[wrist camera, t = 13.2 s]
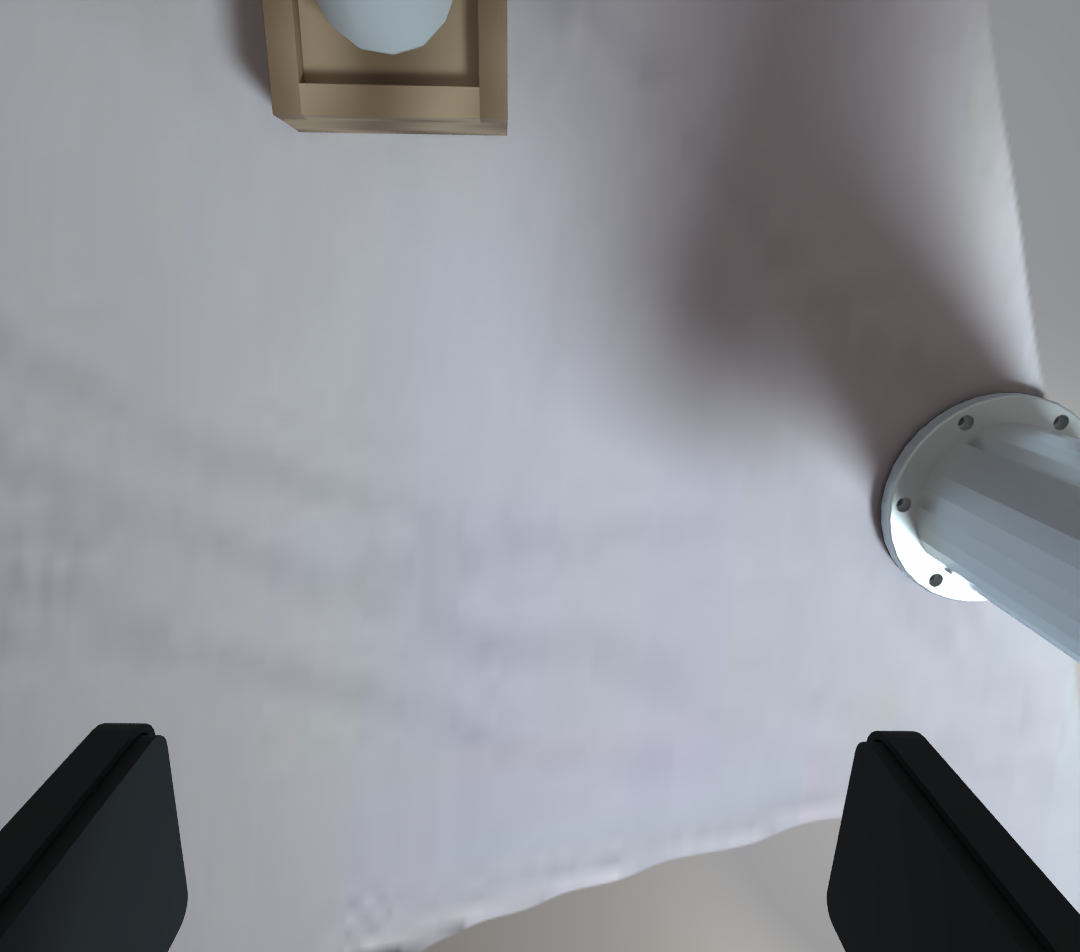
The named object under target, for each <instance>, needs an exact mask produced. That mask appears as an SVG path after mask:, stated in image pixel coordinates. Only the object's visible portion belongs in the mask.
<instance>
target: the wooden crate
mask: <svg viewBox="0 0 1080 952" xmlns="http://www.w3.org/2000/svg"><path fill="white" fill-rule="evenodd" d="M262 5H263V15H264V26H265V36H266V47H267V57H268V68H269V78H270V89H271V99H272V110H273V115H275V116H276V117H278V118H279V119H281V120H282V121H284V122H285V123H287V124H288V125H290V126H291V127H293V128H294V129H296V130H297V131H299V132H337V133H394V134H451V135H507V120H508V107H507V0H453V1H452V4H451V7H450V10H449V13H448V16H447V19H446V22H445V23H444V24H443V25H442V26H441V27H440V28H439V30H438V31H437V32H436V33H435V34H434V35H433V36H432V37H431V38H430V40H429V41H428V42H427V43H426V44H425V45H424V46H422V47H419V48H416V49H412V50H409V51H405V52H402V53H399V54H395V55H391V54H385V53H380V52H374V51H368V50H362V49H360V48H359V47H357V46H356V45H355V44H354V43H352V42H351V41H350V40H349V39H347V38H346V37H345V36H343V35H342V34H341V33H340V32H338V31H337V30H336V29H335V28H333V27H332V26H331V25H330V23H329V22H328V20H327V18H326V17H325V15H324V13H323V11H322V10H321V8H320V6H319V5H318V3H317V1H316V0H262Z"/></svg>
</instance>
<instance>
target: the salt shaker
mask: <svg viewBox="0 0 1080 952" xmlns="http://www.w3.org/2000/svg"><path fill="white" fill-rule="evenodd" d="M316 1H317V3H318V5H319V6H320V8H321V10H322V11H323V13H324V15H325V17H326V18H327V20H328V22H329V23H330V25H331V26H332V27H333V28H335V29H336V30H337V31H338V32H340V33H341V34H342V35H343V36H345V37H346V38H347V39H349V40H350V41H351V42H352V43H354V44H355V45H356V46H357V47H359V48H360V49H362V50H368V51H374V52H380V53H385V54H391V55H395V54H399V53H402V52H405V51H409V50H412V49H416V48H419V47H422V46H424V45H425V44H426V43H427V42H428V41H429V40H430V38H431V37H432V36H433V35H434V34H435V33H436V32H437V31H438V30H439V28H440V27H441V26H442V25H443V24H444V23H445V22H446V19H447V16H448V13H449V10H450V7H451V4H452V1H453V0H316Z"/></svg>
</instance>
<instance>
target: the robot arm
mask: <svg viewBox="0 0 1080 952" xmlns="http://www.w3.org/2000/svg"><path fill="white" fill-rule="evenodd" d="M881 526H882V531H883V536H884V541H885V544H886V546H887V548H888V551H889V553H890V555H891V557H892V559H893V560H894V561H895V563H896V564H897V565H898V567H899V568H900V569H901V571H902V572H904V573H905V574H906V575H907V576H908V577H910V578H911V579H912V580H913V581H914V582H915V583H917V584H918V585H920V586H921V587H923V588H924V589H925V590H927V591H929V592H931V593H933V594H936V595H939V596H941V597H944V598H946V599H952V600H958V601H964V602H977V601H990V602H991V603H993V604H994V605H996V606H997V607H999V608H1000V609H1002V610H1003V611H1005V612H1006V613H1007V614H1009V615H1010V616H1012V617H1013V618H1015V619H1016V620H1018V621H1019V622H1021V623H1022V624H1023V625H1025V626H1026V627H1028V628H1029V629H1031V630H1032V631H1034V632H1035V633H1037V634H1038V635H1039V636H1041V637H1042V638H1044V639H1045V640H1047V641H1048V642H1050V643H1051V644H1052V645H1054V646H1055V647H1057V648H1058V649H1060V650H1061V651H1063V652H1064V653H1066V654H1067V655H1068V656H1070V657H1071V658H1073V659H1074V660H1076V661H1077V662H1079V663H1080V419H1079V418H1078V417H1077V416H1076V415H1075V414H1074V413H1073V412H1071V411H1070V410H1068V409H1066V408H1065V407H1063V406H1061V405H1060V404H1058V403H1056V402H1053V401H1050V400H1047V399H1043V398H1040V397H1036V396H1031V395H1026V394H1021V393H995V394H990V395H985V396H979V397H975V398H973V399H970V400H968V401H965V402H962V403H960V404H957V405H955V406H953V407H952V408H950V409H948V410H947V411H945V412H943V413H941V414H940V415H938V416H936V417H935V418H934V419H933V420H932V421H930V422H929V423H928V424H927V425H926V426H924V427H923V428H922V429H921V430H920V431H919V432H918V433H917V434H916V435H915V436H914V437H913V438H912V440H911V441H910V442H909V443H908V444H907V445H906V446H905V448H904V449H903V451H902V453H901V454H900V456H899V457H898V459H897V461H896V462H895V464H894V465H893V468H892V470H891V472H890V475H889V477H888V480H887V482H886V485H885V489H884V494H883V499H882V503H881ZM187 900H188V891H187V884H186V876H185V869H184V862H183V855H182V848H181V840H180V833H179V826H178V819H177V811H176V804H175V797H174V790H173V782H172V775H171V768H170V761H169V753H168V746H167V742H166V739H165V738H164V736H161V735H155V732H154V729H153V728H152V726H151V725H149V724H139V723H104V724H100V725H98V726H97V727H96V728H95V729H93V730H92V731H91V732H90V734H89V735H88V736H87V737H86V738H85V739H84V740H83V741H82V742H81V743H80V744H79V746H78V747H77V748H76V749H75V750H74V751H73V752H72V753H71V754H70V755H69V756H68V758H67V759H66V760H65V761H64V762H63V763H62V764H61V765H60V766H59V767H58V768H57V770H56V771H55V772H54V773H53V774H52V775H51V776H50V777H49V778H48V779H47V780H46V782H45V783H44V784H43V785H42V786H41V787H40V788H39V789H38V790H37V791H36V792H35V794H34V795H33V796H32V797H31V798H30V799H29V800H28V801H27V802H26V803H25V804H24V806H23V807H22V808H21V809H20V810H19V811H18V812H17V813H16V814H15V815H14V816H13V818H12V819H11V820H10V821H9V822H8V823H7V824H6V825H5V826H4V827H3V828H2V830H1V831H0V952H168V950H169V948H170V946H171V944H172V943H173V941H174V939H175V937H176V935H177V933H178V931H179V929H180V927H181V924H182V922H183V919H184V916H185V912H186V907H187ZM827 906H828V912H829V916H830V919H831V922H832V924H833V927H834V928H835V931H836V933H837V935H838V937H839V939H840V941H841V943H842V945H843V947H844V949H845V951H846V952H1080V914H1079V913H1078V912H1077V911H1076V910H1075V908H1074V907H1073V906H1072V905H1071V904H1070V903H1069V902H1068V900H1067V899H1066V898H1065V897H1064V896H1063V895H1062V894H1061V892H1060V891H1059V890H1058V889H1057V888H1056V887H1055V886H1054V885H1053V883H1052V882H1051V881H1050V880H1049V879H1048V878H1047V877H1046V875H1045V874H1044V873H1043V872H1042V871H1041V870H1040V869H1039V867H1038V866H1037V865H1036V864H1035V863H1034V862H1033V861H1032V859H1031V858H1030V857H1029V856H1028V855H1027V854H1026V853H1025V851H1024V850H1023V849H1022V848H1021V847H1020V846H1019V845H1018V843H1017V842H1016V841H1015V840H1014V839H1013V838H1012V837H1011V835H1010V834H1009V833H1008V832H1007V831H1006V830H1005V829H1004V827H1003V826H1002V825H1001V824H1000V823H999V822H998V821H997V819H996V818H995V817H994V816H993V815H992V814H991V813H990V811H989V810H988V809H987V808H986V807H985V806H984V805H983V803H982V802H981V801H980V800H979V799H978V798H977V797H976V796H975V794H974V793H973V792H972V791H971V790H970V789H969V788H968V786H967V785H966V784H965V783H964V782H963V781H962V780H961V778H960V777H959V776H958V775H957V774H956V773H955V772H954V770H953V769H952V768H951V767H950V766H949V765H948V764H947V762H946V761H945V760H944V759H943V758H942V757H941V756H940V754H939V753H938V752H937V751H936V750H935V749H934V748H933V746H932V745H931V744H930V743H929V742H928V741H927V740H926V738H925V737H923V736H922V735H921V734H920V733H917V732H914V731H874V732H872V733H871V734H870V735H869V736H868V739H867V742H861V743H859V744H858V746H857V748H856V751H855V756H854V761H853V766H852V771H851V775H850V780H849V785H848V790H847V795H846V800H845V805H844V810H843V815H842V820H841V826H840V830H839V835H838V841H837V845H836V850H835V855H834V860H833V865H832V870H831V875H830V880H829V885H828V890H827Z"/></svg>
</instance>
